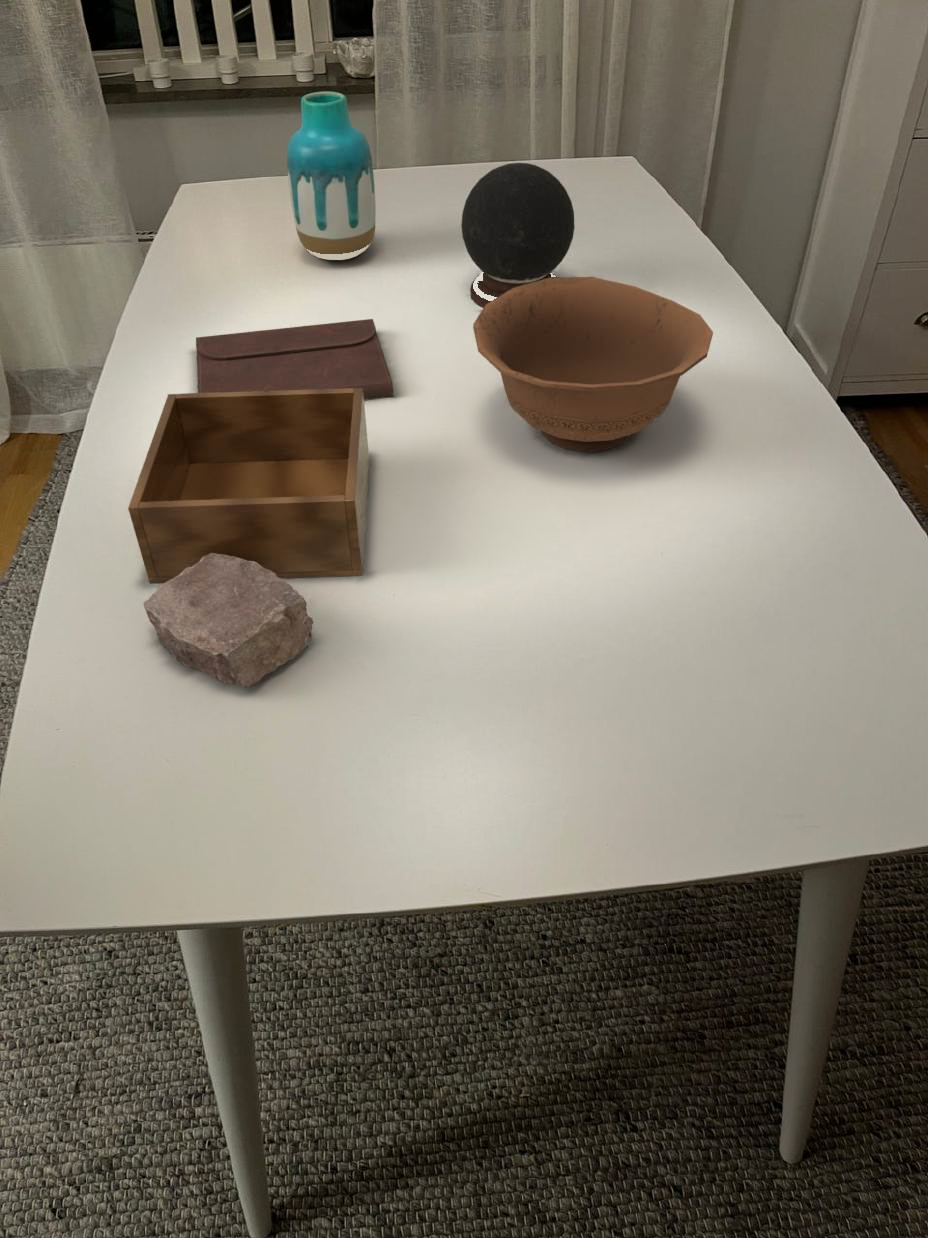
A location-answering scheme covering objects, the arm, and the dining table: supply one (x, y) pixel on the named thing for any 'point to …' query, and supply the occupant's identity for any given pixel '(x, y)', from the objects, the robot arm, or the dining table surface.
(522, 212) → the black ball on stand
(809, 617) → the dining table surface
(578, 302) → the bowl
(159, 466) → the box
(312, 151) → the vase
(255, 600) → the stone
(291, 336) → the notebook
